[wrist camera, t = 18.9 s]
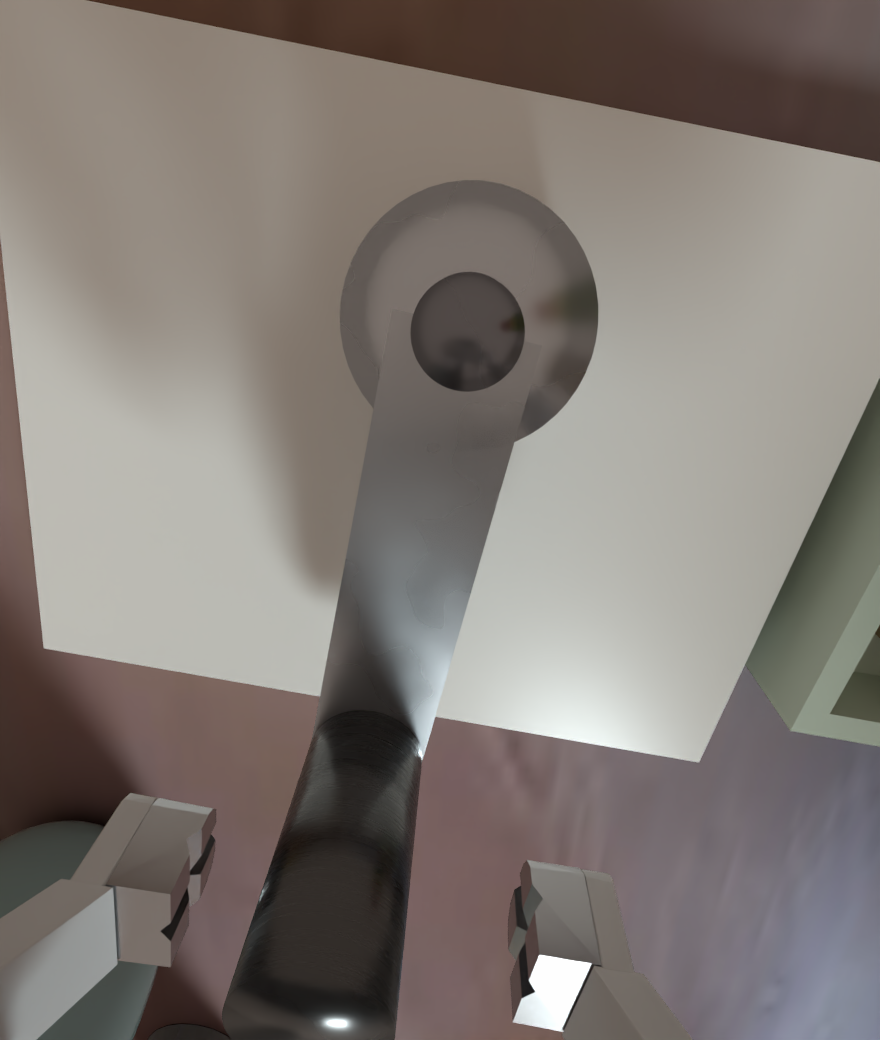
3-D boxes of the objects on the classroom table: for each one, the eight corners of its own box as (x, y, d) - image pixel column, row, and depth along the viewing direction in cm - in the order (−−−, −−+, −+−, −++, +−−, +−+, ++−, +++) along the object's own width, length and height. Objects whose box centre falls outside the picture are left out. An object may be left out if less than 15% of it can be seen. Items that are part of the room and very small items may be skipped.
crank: (392, 179, 12) (236, 13, 4) (592, 229, 12) (826, 168, 4) (306, 677, 16) (160, 1048, 9) (449, 708, 17) (430, 1097, 9)
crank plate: (918, 189, 13) (976, 180, 11) (682, 725, 19) (700, 765, 17) (28, 9, 12) (-32, -26, 11) (75, 619, 18) (41, 650, 17)
